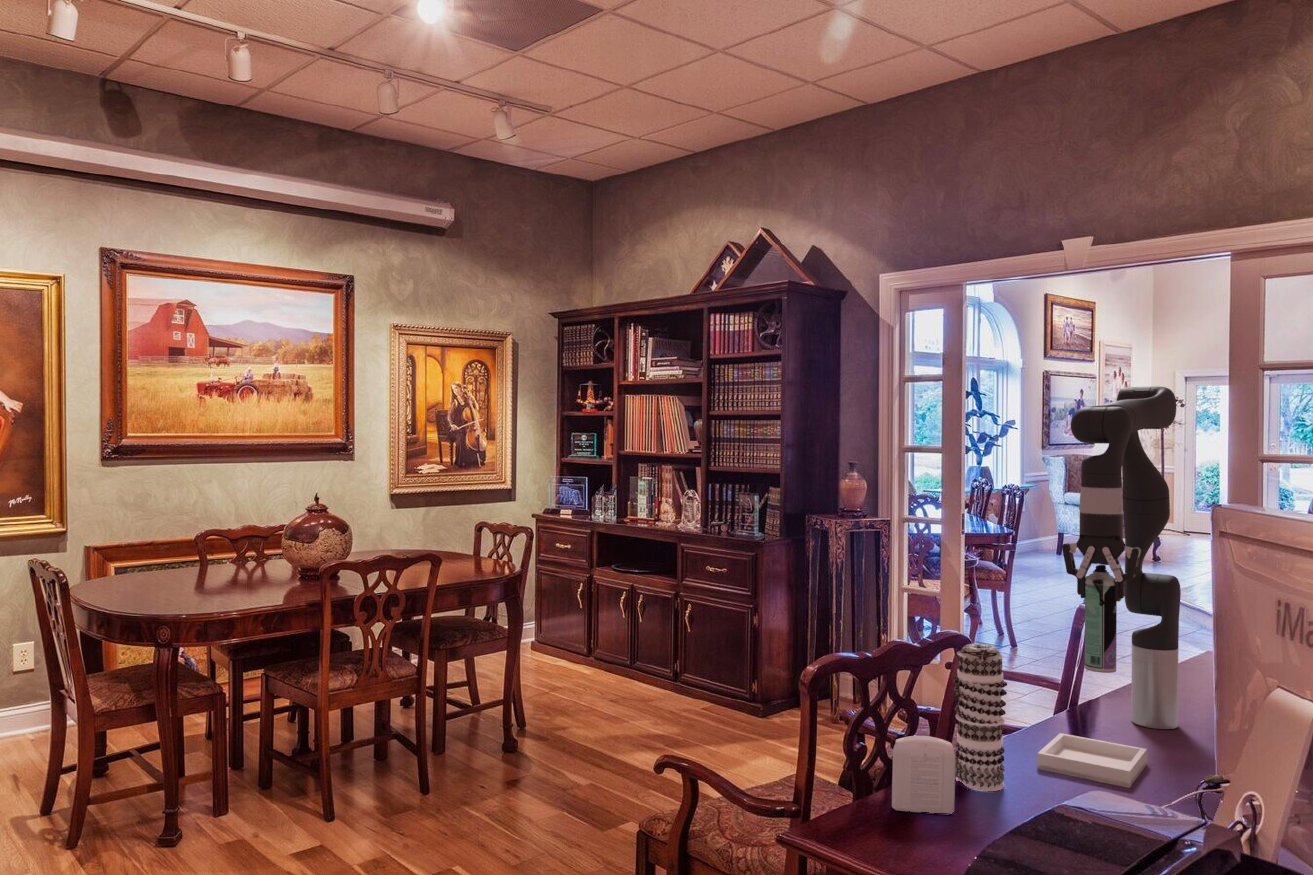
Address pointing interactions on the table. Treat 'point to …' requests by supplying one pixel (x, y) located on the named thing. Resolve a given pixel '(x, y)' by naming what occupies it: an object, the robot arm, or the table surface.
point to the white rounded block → (923, 775)
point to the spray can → (1100, 621)
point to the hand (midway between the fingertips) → (1100, 598)
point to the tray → (1093, 759)
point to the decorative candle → (980, 717)
